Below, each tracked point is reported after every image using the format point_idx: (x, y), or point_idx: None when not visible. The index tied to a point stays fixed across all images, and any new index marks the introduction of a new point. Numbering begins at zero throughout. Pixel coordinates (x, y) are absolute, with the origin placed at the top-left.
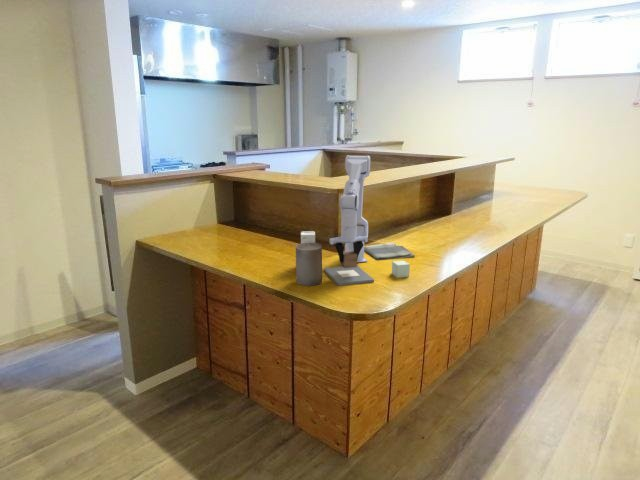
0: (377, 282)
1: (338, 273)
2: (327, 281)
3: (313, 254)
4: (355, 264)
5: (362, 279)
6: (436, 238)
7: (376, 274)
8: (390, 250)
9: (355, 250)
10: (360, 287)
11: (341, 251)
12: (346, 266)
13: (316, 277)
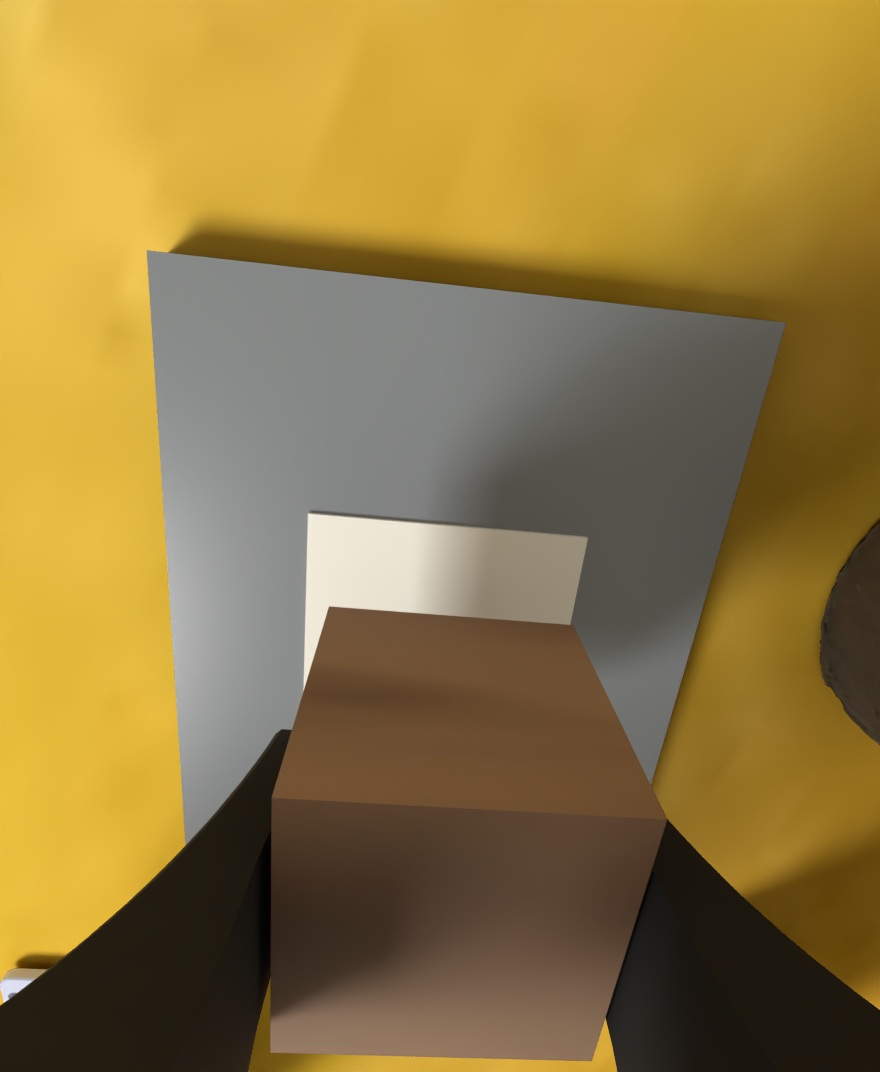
0: (112, 219)
1: None
2: (785, 535)
3: None
4: (353, 633)
5: (340, 333)
6: None
7: (20, 561)
8: None
9: (240, 995)
10: (484, 91)
11: (771, 972)
12: (538, 635)
13: None
